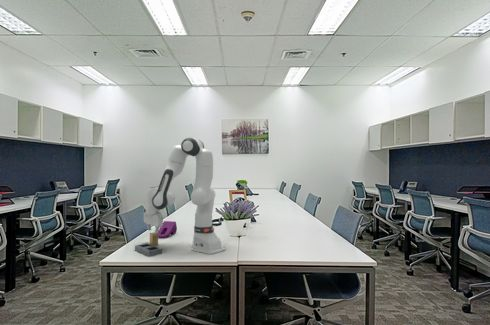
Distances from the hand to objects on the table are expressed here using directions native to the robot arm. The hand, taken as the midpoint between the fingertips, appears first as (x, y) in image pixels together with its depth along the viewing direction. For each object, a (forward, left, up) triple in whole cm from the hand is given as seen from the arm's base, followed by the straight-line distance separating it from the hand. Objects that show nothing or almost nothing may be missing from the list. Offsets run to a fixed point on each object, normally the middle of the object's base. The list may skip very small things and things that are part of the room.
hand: (152, 231), depth 205 cm
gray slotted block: (-13, +10, -9) cm, 18 cm away
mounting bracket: (+17, -20, -10) cm, 28 cm away
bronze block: (-1, 0, -9) cm, 9 cm away
